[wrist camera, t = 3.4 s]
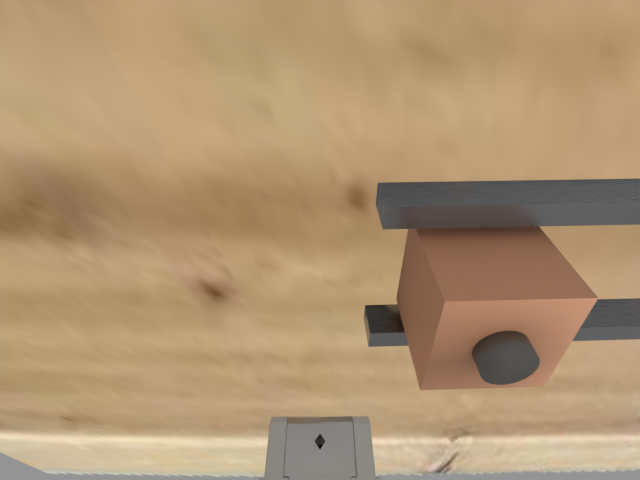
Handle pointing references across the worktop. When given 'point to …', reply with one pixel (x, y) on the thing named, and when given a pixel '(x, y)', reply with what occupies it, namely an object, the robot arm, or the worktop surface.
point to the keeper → (488, 306)
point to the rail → (511, 211)
